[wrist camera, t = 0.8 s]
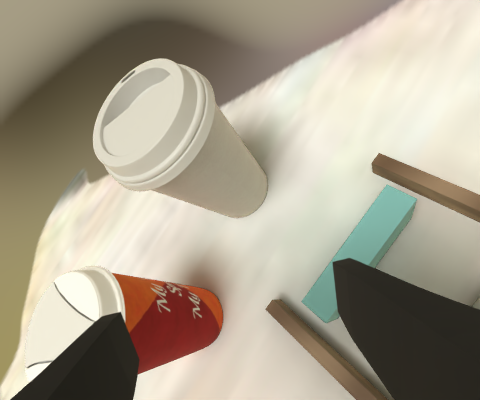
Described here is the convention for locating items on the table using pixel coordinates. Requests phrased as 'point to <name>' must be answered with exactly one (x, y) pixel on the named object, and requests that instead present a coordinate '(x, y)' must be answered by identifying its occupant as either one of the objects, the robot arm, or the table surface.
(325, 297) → the long teal post
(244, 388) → the table surface
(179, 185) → the coffee cup
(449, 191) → the frame
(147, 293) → the paper cup
